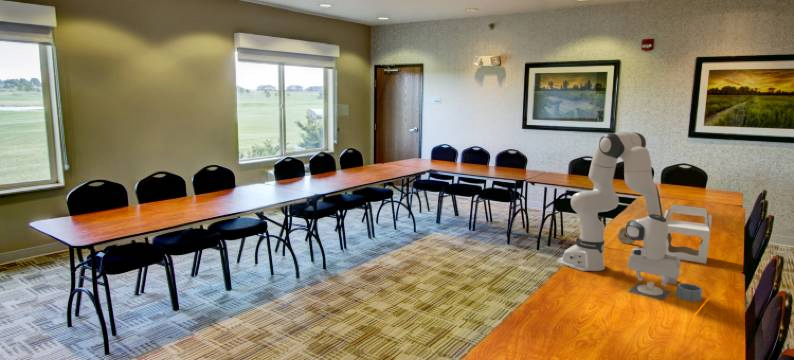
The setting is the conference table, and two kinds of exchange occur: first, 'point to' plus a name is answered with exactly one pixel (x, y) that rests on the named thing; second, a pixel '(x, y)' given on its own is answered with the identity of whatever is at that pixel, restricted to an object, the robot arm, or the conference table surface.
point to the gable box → (689, 233)
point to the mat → (661, 297)
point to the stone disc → (624, 236)
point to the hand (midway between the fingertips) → (651, 283)
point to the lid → (650, 289)
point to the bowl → (689, 292)
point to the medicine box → (671, 280)
